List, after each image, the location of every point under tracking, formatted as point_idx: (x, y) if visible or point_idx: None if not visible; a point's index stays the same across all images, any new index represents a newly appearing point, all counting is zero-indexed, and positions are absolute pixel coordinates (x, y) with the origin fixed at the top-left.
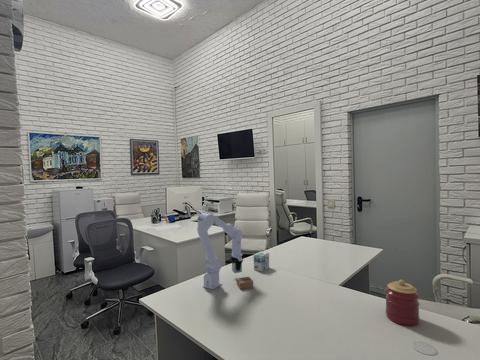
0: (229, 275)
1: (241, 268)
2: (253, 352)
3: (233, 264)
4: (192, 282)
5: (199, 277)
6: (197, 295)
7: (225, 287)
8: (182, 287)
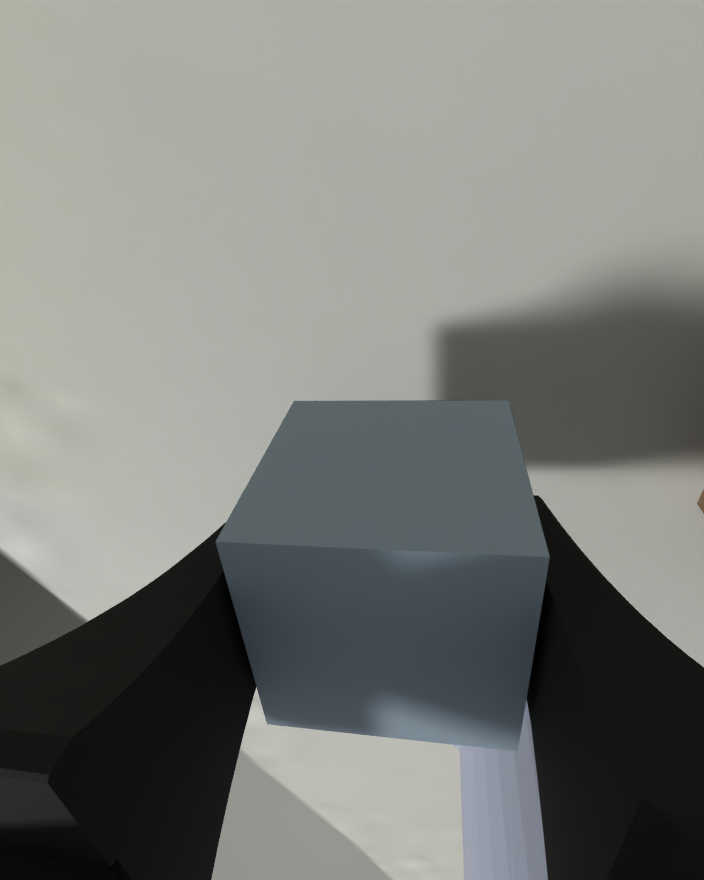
0: None
1: (519, 463)
2: None
3: (427, 739)
4: (362, 808)
5: (248, 747)
6: None
7: (698, 656)
8: (444, 867)
